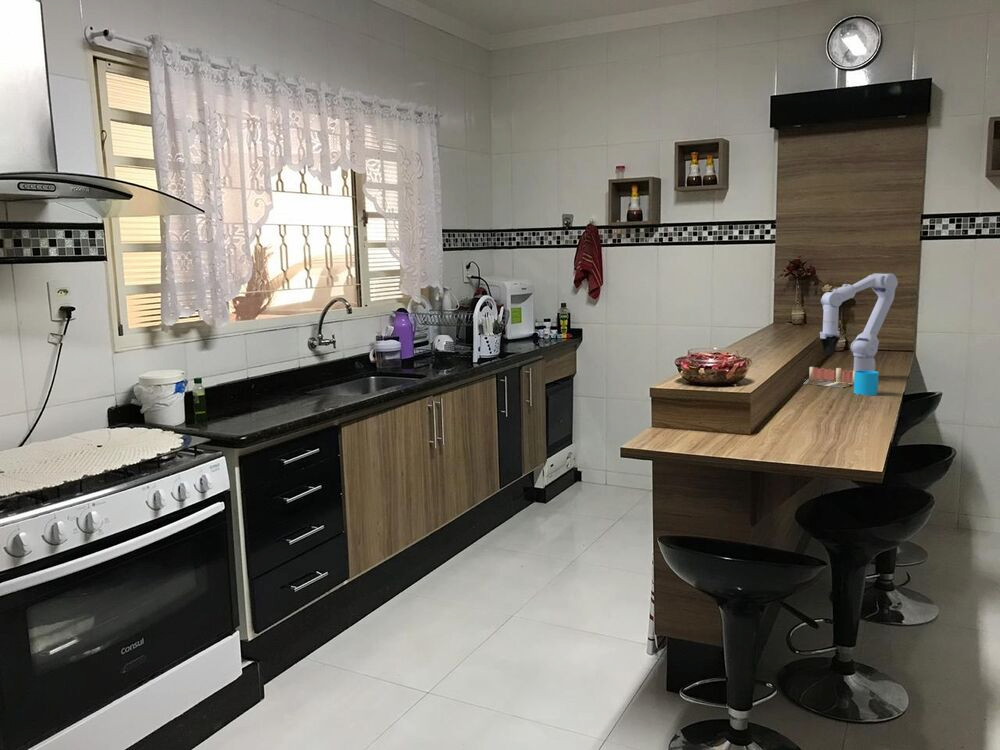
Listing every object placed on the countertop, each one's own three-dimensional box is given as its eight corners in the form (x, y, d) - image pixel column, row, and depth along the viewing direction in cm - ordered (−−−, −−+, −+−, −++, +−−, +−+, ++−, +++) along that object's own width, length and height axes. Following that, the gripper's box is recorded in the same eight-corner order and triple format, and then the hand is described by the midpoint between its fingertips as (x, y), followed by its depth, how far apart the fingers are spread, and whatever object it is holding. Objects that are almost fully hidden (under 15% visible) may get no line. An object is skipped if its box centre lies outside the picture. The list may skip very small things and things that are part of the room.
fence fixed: (834, 383, 327) (835, 368, 326) (836, 382, 328) (837, 367, 328) (856, 385, 321) (856, 370, 320) (858, 384, 323) (858, 369, 322)
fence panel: (835, 381, 329) (835, 368, 328) (833, 381, 327) (834, 369, 327) (810, 378, 336) (810, 366, 335) (808, 379, 335) (808, 367, 334)
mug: (875, 396, 297) (876, 374, 296) (851, 394, 301) (852, 372, 300) (881, 391, 307) (882, 370, 305) (857, 389, 311) (858, 368, 310)
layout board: (818, 376, 344) (818, 375, 344) (865, 381, 331) (865, 380, 331) (794, 383, 328) (794, 382, 328) (843, 388, 314) (843, 387, 314)
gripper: (828, 320, 340) (826, 352, 342) (813, 322, 330) (811, 355, 332) (845, 320, 335) (843, 353, 337) (830, 323, 325) (829, 357, 327)
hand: (829, 354), depth 334 cm, fingers open, 3 cm apart
